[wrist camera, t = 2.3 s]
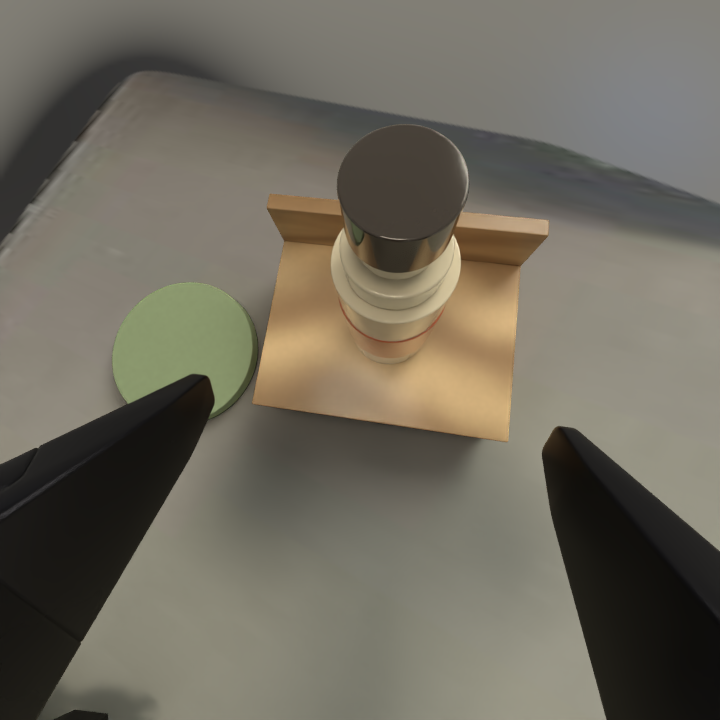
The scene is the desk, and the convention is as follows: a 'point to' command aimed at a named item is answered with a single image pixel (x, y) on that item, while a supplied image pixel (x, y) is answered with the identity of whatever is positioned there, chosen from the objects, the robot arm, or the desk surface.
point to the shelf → (434, 359)
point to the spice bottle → (398, 237)
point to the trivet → (186, 343)
